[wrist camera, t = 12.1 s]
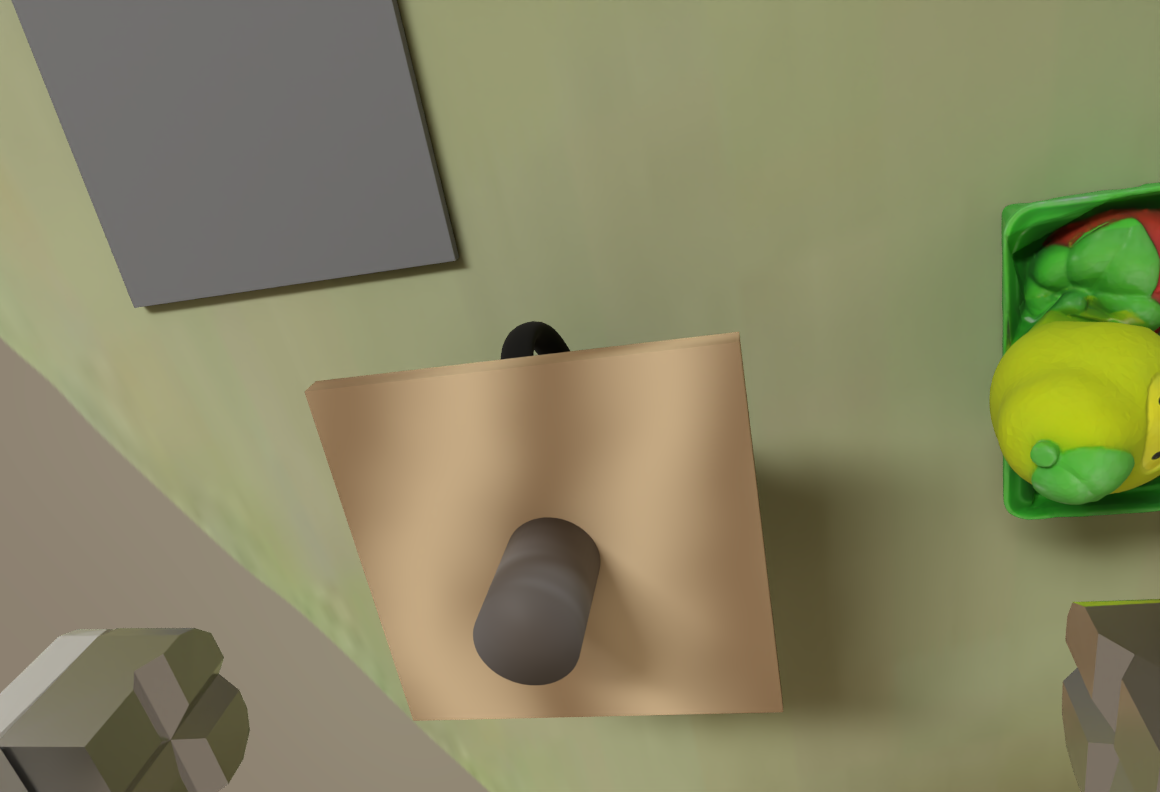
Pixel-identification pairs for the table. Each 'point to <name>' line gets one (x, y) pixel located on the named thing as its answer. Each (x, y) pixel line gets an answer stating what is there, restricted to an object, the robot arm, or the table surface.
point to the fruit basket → (1080, 355)
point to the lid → (561, 531)
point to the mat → (244, 139)
